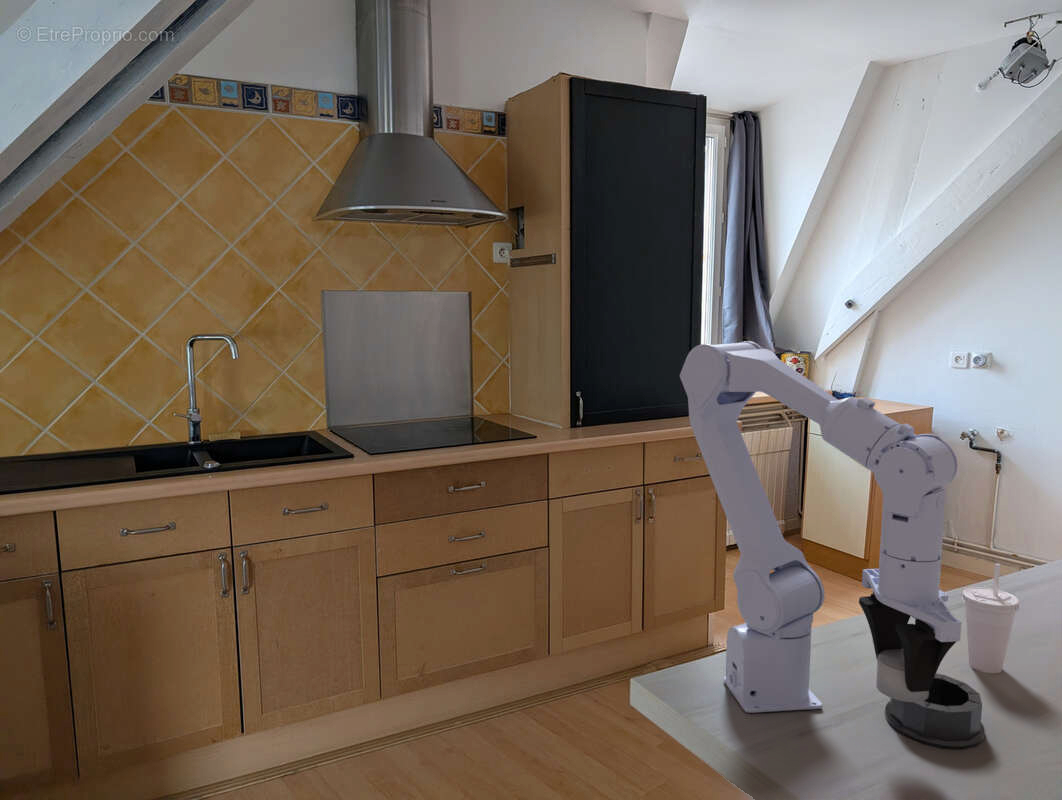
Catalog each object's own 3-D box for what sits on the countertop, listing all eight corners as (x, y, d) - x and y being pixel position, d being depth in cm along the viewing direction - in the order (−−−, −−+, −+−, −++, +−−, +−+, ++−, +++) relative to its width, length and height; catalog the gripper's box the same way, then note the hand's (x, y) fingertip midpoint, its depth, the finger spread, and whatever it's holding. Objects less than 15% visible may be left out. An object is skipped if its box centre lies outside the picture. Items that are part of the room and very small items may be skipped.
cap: (892, 703, 78) (894, 671, 77) (867, 679, 83) (868, 649, 82) (939, 700, 78) (941, 668, 78) (910, 677, 83) (912, 647, 83)
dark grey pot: (917, 752, 81) (920, 717, 80) (868, 702, 91) (869, 671, 90) (1005, 746, 82) (1008, 711, 81) (946, 698, 92) (949, 667, 91)
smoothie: (1022, 680, 96) (1031, 574, 94) (967, 675, 97) (974, 571, 95) (1002, 657, 102) (1010, 557, 100) (950, 653, 103) (957, 554, 101)
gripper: (995, 576, 72) (984, 711, 73) (906, 530, 86) (899, 643, 88) (924, 579, 71) (915, 715, 73) (846, 532, 85) (841, 646, 87)
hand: (902, 676), depth 80 cm, fingers closed on cap, 5 cm apart
